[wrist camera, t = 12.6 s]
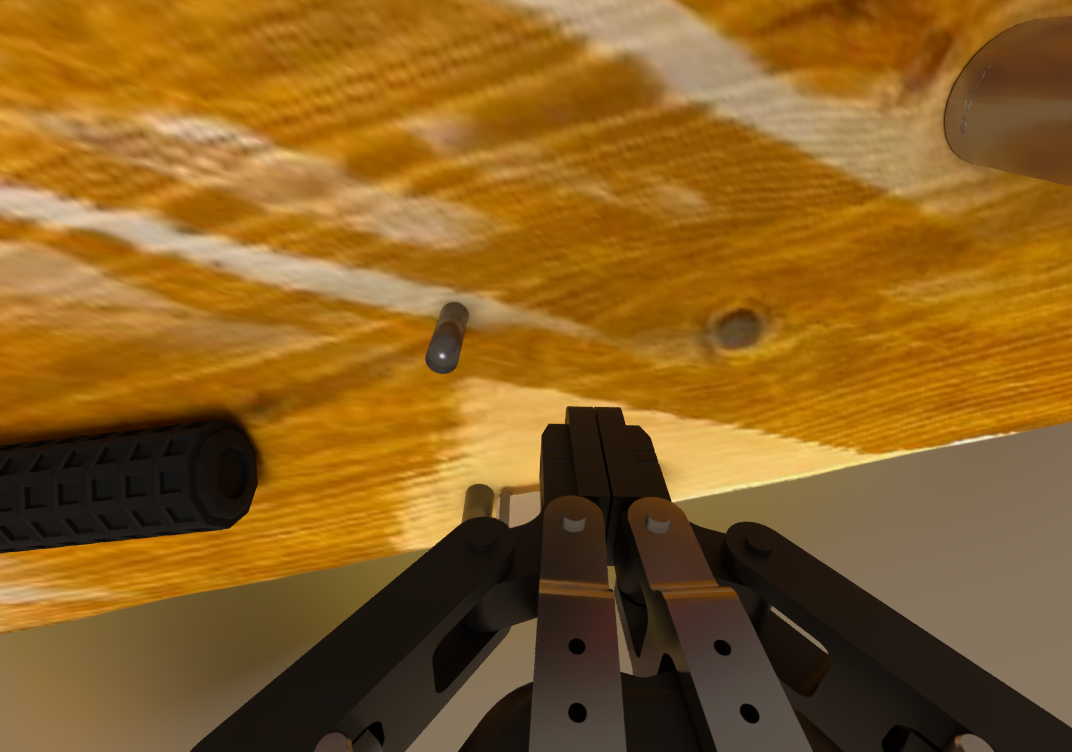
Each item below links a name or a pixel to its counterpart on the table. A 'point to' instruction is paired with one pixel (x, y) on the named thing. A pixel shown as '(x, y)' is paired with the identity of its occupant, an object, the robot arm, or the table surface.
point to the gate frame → (443, 361)
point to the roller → (125, 485)
